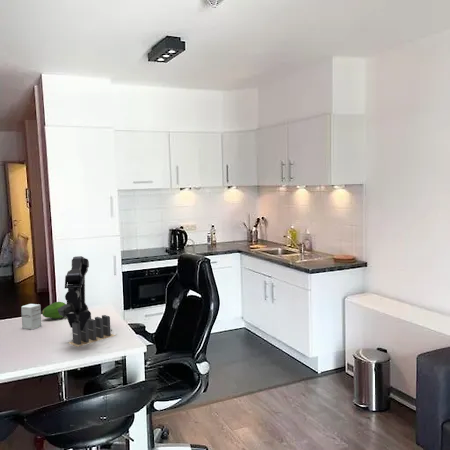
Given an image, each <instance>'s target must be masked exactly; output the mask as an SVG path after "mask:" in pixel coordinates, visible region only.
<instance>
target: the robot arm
mask: <svg viewBox="0 0 450 450" xmlns="http://www.w3.org/2000/svg"><path fill="white" fill-rule="evenodd" d="M89 267H90V261H89V259H88V258H86V257H84V256H73V258H72V259H71V269H70V270H68V271H67V273H66V274H65V277H64V278H65V279H64V289H67V292H66V293H65V295H64V299H65V300H66V303H65V304H66V305H64V306H62V307H60V308H59V309H57V310H58V312H59V315H60V316H63V318H64V317H65V318H66V319H67V321H68V324H69V327H70V329H72V323H74V322H76V323H79V328H80V331H83V329H84V326H85V324H86V322H87V320H88V319H92V312H91V311H90V309H89V307H88V305H87V304H86V275H87V273H88V272H89Z"/></svg>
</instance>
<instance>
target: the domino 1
mask: <svg viewBox="0 0 450 450" xmlns="http://www.w3.org/2000/svg"><path fill="white" fill-rule="evenodd" d="M71 331H72V333H71V334H72V342H73V343H75V344H77V345H79V344H81V331H80V328H79V323H76V322H74V323H72V328H71Z"/></svg>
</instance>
